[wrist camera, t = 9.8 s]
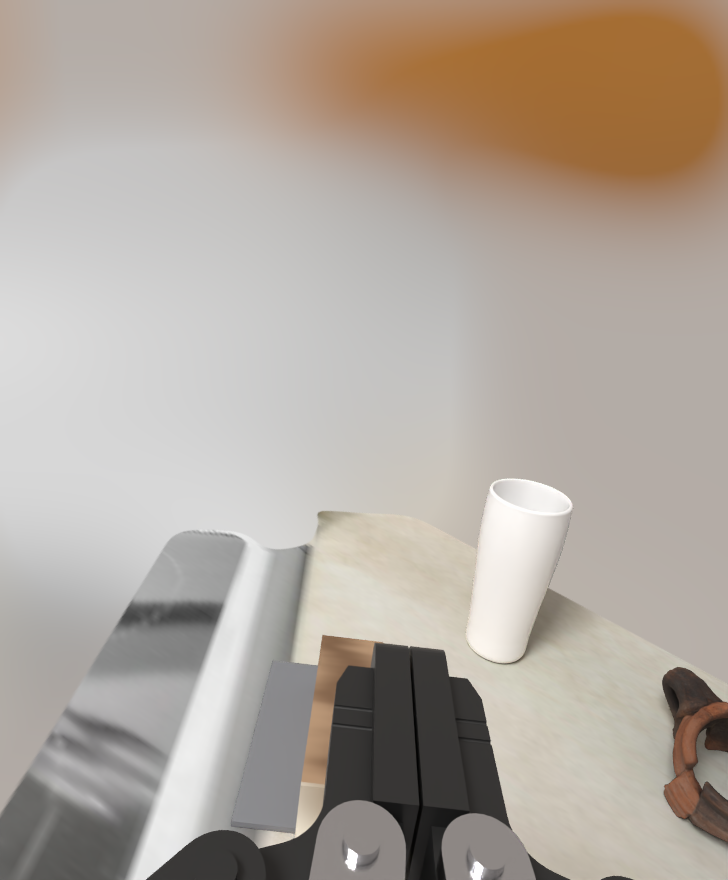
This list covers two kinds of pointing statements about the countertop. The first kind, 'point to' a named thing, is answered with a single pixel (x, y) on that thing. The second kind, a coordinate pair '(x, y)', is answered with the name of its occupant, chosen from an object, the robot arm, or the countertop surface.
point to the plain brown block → (325, 720)
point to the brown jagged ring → (691, 716)
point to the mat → (277, 751)
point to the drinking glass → (514, 565)
